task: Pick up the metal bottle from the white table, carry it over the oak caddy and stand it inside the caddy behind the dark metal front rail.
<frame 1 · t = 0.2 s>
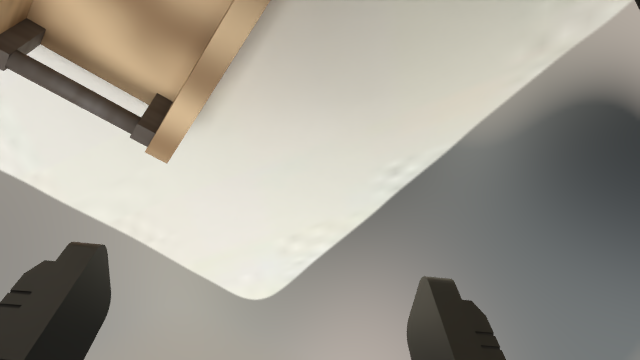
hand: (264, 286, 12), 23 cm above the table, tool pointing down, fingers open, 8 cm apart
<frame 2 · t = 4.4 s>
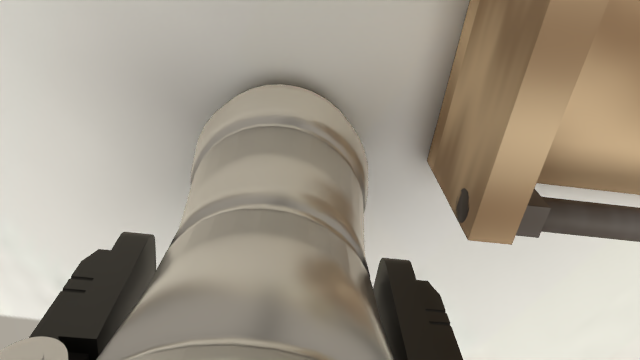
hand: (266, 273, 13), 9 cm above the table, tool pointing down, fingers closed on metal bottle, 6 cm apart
caddy: (635, 16, 18), on the table
metal bottle: (286, 144, 20), on the table, touching gripper
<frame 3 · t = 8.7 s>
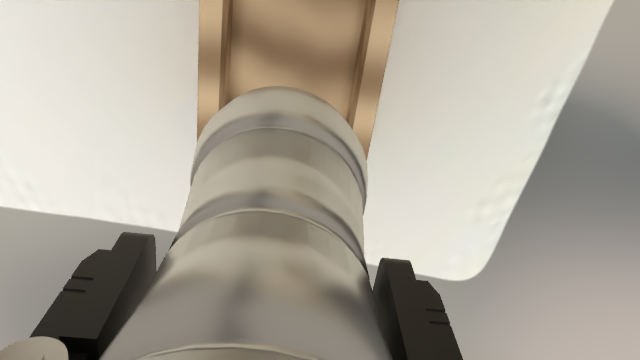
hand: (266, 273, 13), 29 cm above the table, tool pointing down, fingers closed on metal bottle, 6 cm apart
caddy: (294, 46, 38), on the table
metal bottle: (286, 145, 20), point 20 cm above the table, touching gripper
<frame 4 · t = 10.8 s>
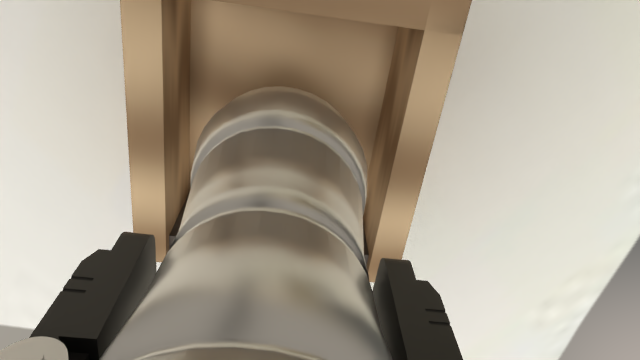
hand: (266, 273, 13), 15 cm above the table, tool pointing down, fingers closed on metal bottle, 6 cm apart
caddy: (287, 100, 26), on the table
metal bottle: (285, 146, 20), point 6 cm above the table, touching gripper
when the fingers open (10 cm above the table, at t = 12.9 s): metal bottle stays where it is, resting on caddy.
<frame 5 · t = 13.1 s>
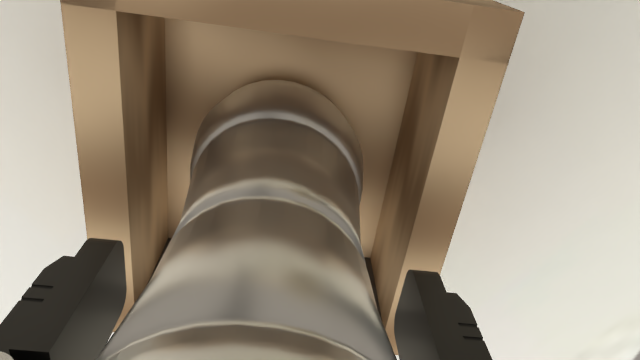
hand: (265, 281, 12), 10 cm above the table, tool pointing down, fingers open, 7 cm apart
caddy: (283, 132, 21), on the table
metal bottle: (282, 138, 21), point 1 cm above the table, touching caddy
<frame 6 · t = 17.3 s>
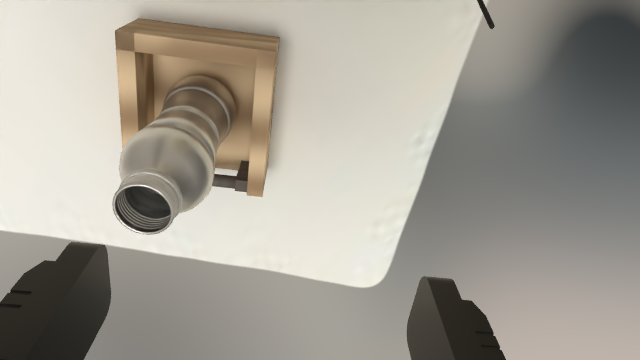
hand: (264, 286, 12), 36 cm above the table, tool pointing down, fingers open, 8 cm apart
caddy: (207, 99, 47), on the table
metal bottle: (206, 102, 46), point 1 cm above the table, touching caddy
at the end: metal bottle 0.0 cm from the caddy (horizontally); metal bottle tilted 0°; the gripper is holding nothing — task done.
